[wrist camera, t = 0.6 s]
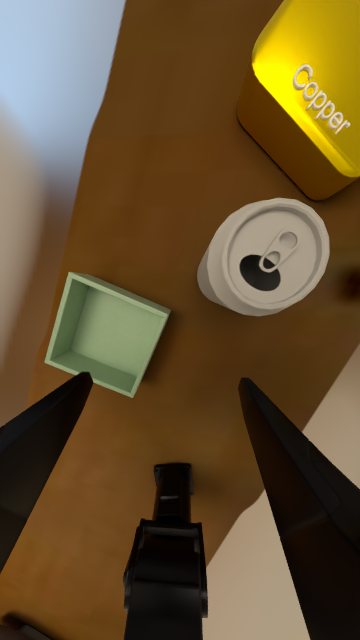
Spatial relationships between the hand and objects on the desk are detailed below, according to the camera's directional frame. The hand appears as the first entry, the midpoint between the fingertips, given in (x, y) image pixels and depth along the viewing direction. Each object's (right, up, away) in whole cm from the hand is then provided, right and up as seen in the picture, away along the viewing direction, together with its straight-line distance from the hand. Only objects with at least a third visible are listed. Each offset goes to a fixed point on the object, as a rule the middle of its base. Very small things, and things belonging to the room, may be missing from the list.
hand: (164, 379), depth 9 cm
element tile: (+17, +27, +8) cm, 33 cm away
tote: (-8, +2, +13) cm, 16 cm away
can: (+7, +9, +12) cm, 17 cm away
